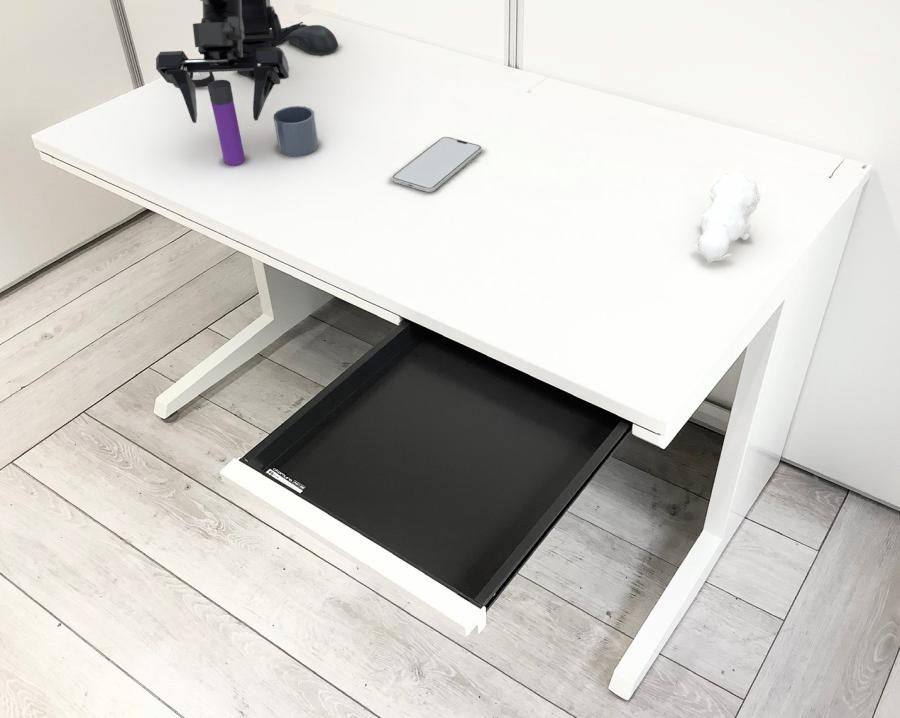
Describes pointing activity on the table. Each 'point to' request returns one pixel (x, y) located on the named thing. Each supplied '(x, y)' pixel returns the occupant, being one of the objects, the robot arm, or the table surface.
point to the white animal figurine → (727, 215)
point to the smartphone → (437, 164)
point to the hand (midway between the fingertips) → (224, 120)
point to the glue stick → (226, 122)
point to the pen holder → (296, 131)
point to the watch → (206, 81)
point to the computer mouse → (310, 38)
